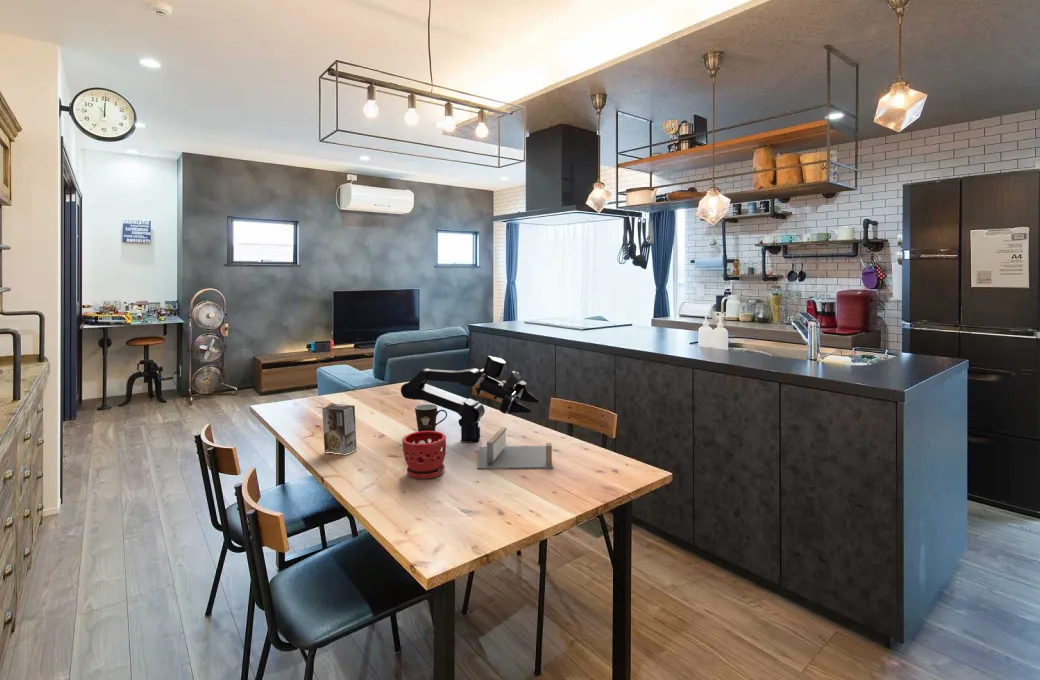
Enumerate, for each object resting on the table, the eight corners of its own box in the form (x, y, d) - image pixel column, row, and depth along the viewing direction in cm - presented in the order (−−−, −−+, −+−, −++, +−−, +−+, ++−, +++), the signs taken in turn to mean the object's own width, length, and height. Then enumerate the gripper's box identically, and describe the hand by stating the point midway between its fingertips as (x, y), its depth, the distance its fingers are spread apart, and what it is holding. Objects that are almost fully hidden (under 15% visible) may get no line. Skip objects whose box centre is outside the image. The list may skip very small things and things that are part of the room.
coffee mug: (411, 433, 213) (410, 408, 211) (423, 427, 221) (422, 403, 219) (437, 437, 208) (436, 411, 207) (448, 431, 216) (448, 406, 215)
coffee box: (357, 450, 193) (355, 405, 191) (346, 456, 187) (344, 409, 185) (335, 447, 196) (333, 403, 194) (323, 453, 190) (321, 407, 188)
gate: (492, 464, 176) (492, 443, 175) (486, 464, 177) (486, 442, 176) (506, 446, 194) (506, 427, 193) (501, 446, 195) (501, 426, 194)
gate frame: (477, 469, 175) (477, 447, 174) (479, 448, 196) (479, 428, 195) (553, 468, 176) (553, 446, 175) (547, 447, 197) (547, 428, 196)
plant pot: (408, 466, 178) (407, 430, 176) (449, 466, 177) (448, 430, 176) (398, 481, 165) (397, 442, 163) (442, 482, 164) (441, 443, 163)
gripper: (493, 377, 188) (534, 396, 185) (511, 361, 206) (549, 378, 202) (483, 404, 192) (524, 424, 189) (502, 387, 209) (539, 404, 206)
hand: (534, 406), depth 197 cm, fingers open, 9 cm apart
